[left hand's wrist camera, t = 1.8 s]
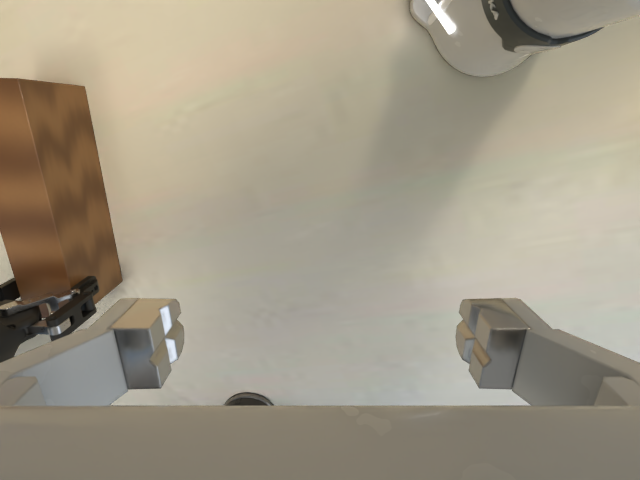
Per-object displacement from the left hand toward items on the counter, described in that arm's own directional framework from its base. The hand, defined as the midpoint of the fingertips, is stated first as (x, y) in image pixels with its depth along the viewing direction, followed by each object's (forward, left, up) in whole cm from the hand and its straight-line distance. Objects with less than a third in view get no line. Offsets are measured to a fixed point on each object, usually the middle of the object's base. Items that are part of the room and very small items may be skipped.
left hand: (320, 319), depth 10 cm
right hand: (+15, -32, -31) cm, 47 cm away
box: (+5, -32, -38) cm, 50 cm away
